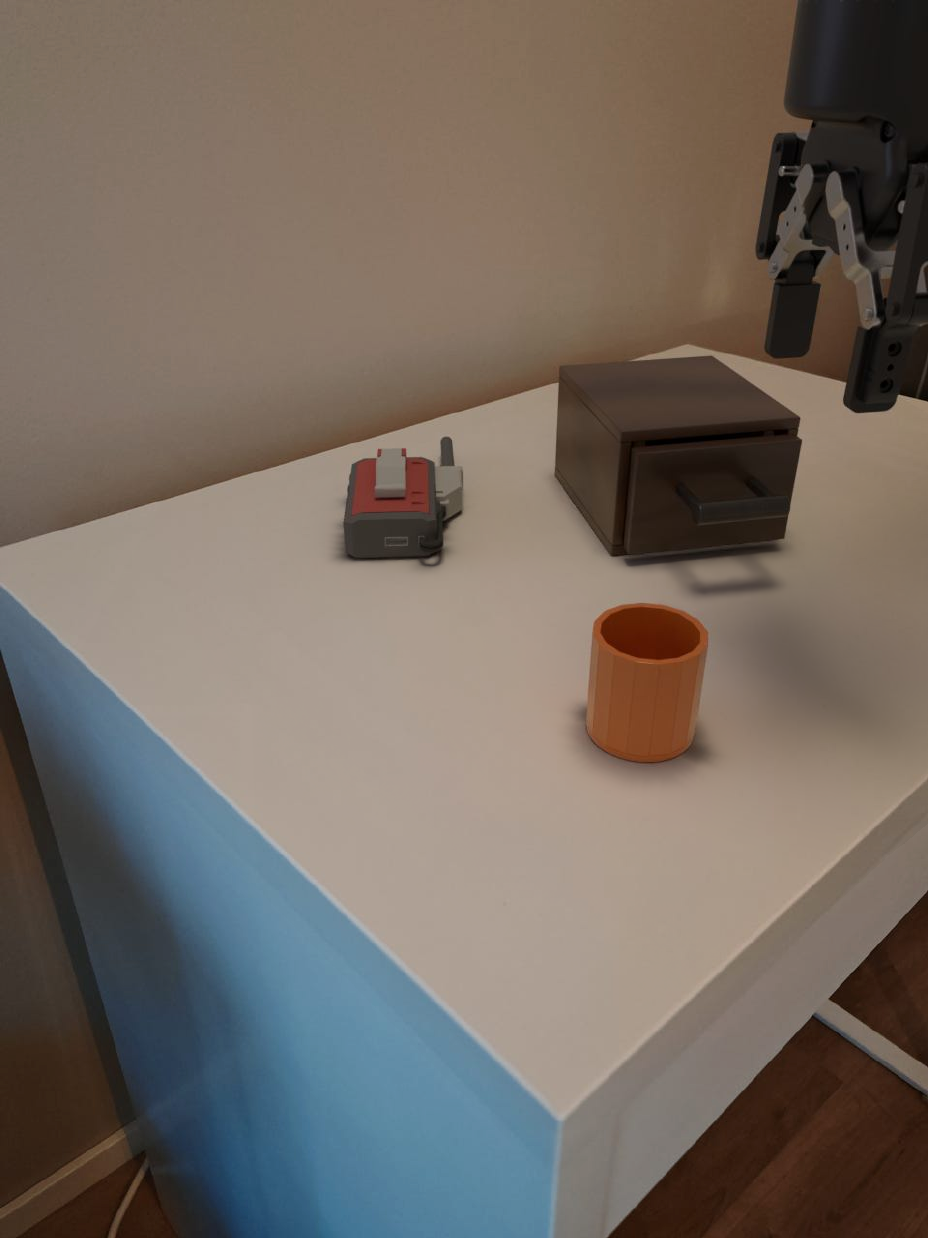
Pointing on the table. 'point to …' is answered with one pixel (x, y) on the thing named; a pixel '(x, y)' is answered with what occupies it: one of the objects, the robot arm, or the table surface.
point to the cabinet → (645, 424)
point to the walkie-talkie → (401, 503)
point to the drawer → (709, 490)
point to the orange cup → (645, 681)
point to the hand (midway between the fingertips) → (823, 380)
